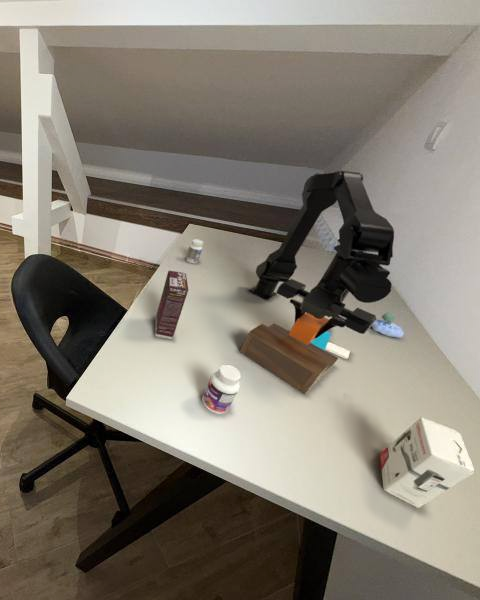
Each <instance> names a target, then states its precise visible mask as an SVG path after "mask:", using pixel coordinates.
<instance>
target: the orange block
mask: <svg viewBox="0 0 480 600" xmlns="http://www.w3.org/2000/svg"><path fill="white" fill-rule="evenodd" d="M329 319H330V318H329ZM329 319H328V317H326V316H325V317H324V318H322V319H318V318H315V317H314V316H313V315H311V314H309V313H307V312H305V314H304V315H302V316H301V317H300V318H298V319H297V321H296V322H295V321H294V323H295V324H293V326H292V327H291V329H290V330H289V331H290V332H289V334H288V335H290V336H291V337H293V338H295V339H297V340H299V341H300V342H302V343H304V344H306V345H308V344H309V343H310V342H312V341H313V340H314V339H315V336H316V335H317V333H318V332H319V331H320V330H321V328H322V327H323V326H324V325H325V324H326V323H327V322H328V320H329Z"/></svg>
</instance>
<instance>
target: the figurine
mask: <svg viewBox="0 0 480 600" xmlns="http://www.w3.org/2000/svg"><path fill="white" fill-rule="evenodd" d="M395 319H396V317H395V315H394V314H393V313H392V312H386V313H383V314H382V315H381V318H377V319H376V321H375V322H374V323H373V325H372V326H371V327H372V330H373V331H374V332H377V333H380V334H381V335H384V336H386V337H391V338H398V339H400V338H401V339H402V338H403V337H404V334H405V333H404V330H403V329H402V327H401V326H398V325H397V324H396V323H394V322H393V321H394V320H395ZM371 327H370V328H371Z"/></svg>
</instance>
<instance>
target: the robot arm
mask: <svg viewBox="0 0 480 600" xmlns="http://www.w3.org/2000/svg"><path fill="white" fill-rule="evenodd" d="M363 180H364V175H363V174H362V173H360V172H356V171H348V170H338V171H334V172H329V173H328V172H327V173H319V172H318V173H314V174H313V175H310V177H308V178H307V179H306V181H305V182H304V186H303V190H302V192H301V199H302V206H301V207H300V210H299V211H298V213H297V215H296V216H295V219H294V221H293V222H292V224H291V226H290V228H289V230H288V231H287V234H286V235H285V237H284V239H283V241H282V243H281V244H280V246H279V247H278V249H276V250H274V251H273V252H271V253H270V254H268V256H267V258H266V259H265V260H264V261H263V262H261V263H260V264H258V265H257V266H256V269H255V274H256V276H257V278H258V280H257V282H256V284H255V286H254V287H252V288H250V289H249V292H251V293H253V294H255V295H256V296H258V297H261V298H263V299H264V300H266V301H267V300H268V301H269V300H270V299H272V298H274V297H275V296H277V295H279V296H281V297H284V299H285V298H286V299H287V300H288V299H289V303H290V304H291V305H293V307H294V324H295V322H296V321H297V319H298V318H300V317H301V316H302V315H304V314H305V313H309V314H311V315H313V316H314V317H315V318H318V319H322V318H324V317H325V318H329V320H328V322H327V323H326V324H325V325H324V326H323V327H322V328H321V330H320V331H319V332H318V333H317V335H316V336H315V338H317V337H319V336H320V335H322V334H323V333H325V332H326V331H328V330H329V331H330V330H331V329H334V328H336V327H339V328H345V327H346V328H347V329H350V330H352V331H354V332H356V333H358V334H361V335H365V333H366V332H367V331H368V330H369V329H371V326H372V325H373V323H374V322H375V321H376V320H377V316H376V315H375V314H373V313H371V312H369V311H367V310H364V309H362V308H359V307H356V308H355V309H354V310H351V309H350V308H348V307H346V303H344V301H345V299H346V298H347V296H348V295H349V293H350V294H351V295H352V297H354V299H356V301H358V302H360V303H363V304H365V303H366V304H372V303H376V302H379V301H381V300H383V299H384V298H386V297H387V296H389V294H390V293H391V292H392V286H393V285H392V282H391V280H390V279H388V277H389V276H390V274H391V271H389V269H386V268H384V267H383V266H386V267H387V266H388V267H389V266H390V265H391V259H392V258H393V257H394V256H393V255H394V254H393V253H394V252H393V249H394V248H393V247H394V239H395V230H394V229H395V228H394V227H393V226H392V224H391V223H390V221H389V220H388V219H387V218H386V217H384V216H382V215H381V214H379V213H377V212H376V211H375V210H374V207H373V205H372V203H371V200H370V197H369V195H368V192H367V190H366V187H365V185H364V182H363ZM336 203H337V204H338V207H339V210H340V211H339V212H340V213H341V217H342V222H343V224H342V225H341V227H340V228H339V229H338V237H339V238H338V240H339V244H338V245H335V246H334V247H333V250H334V251H335V252H336V253H335V254H334V256H333V258H332V260H331V261H330V263H329V265H328V267H327V269H326V270H325V272H324V274H323V275H322V277H321V278H320V280H319V281H318V283H317V284H316V285H315V286H314V287H312V288H311V289H310V291H307V290H305V289H306V287H307V285H306V284H305V283H303V282H301V281H297V280H295V279H293V278H292V277H293V275H294V274H295V271H296V269H297V268H298V265H297V261H296V256H297V254H298V253H299V250H300V249H301V247H302V246H303V245H304V242H305V241H306V239H307V237H308V235H310V232H311V230H312V229H313V227H314V226H315V224H316V223H317V221H318V219H319V217H320V216H321V214H322V213H323V212H324V211H326V210H327V209H329V208H331V207H333V206H334V205H336ZM362 251H363V252H362ZM376 253H377V254H376ZM279 283H281V284H279ZM278 285H279V286H278ZM294 324H293V325H294Z"/></svg>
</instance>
